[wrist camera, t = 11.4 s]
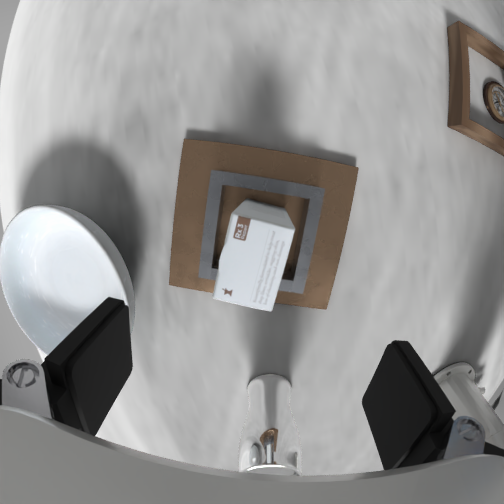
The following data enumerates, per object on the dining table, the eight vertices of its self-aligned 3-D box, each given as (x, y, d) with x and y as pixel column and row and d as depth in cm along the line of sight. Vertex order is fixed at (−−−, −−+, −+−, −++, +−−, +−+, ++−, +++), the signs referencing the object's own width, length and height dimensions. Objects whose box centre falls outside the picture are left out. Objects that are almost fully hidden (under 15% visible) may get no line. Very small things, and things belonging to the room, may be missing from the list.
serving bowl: (51, 337, 37) (28, 360, 30) (18, 207, 31) (-14, 217, 24) (165, 349, 36) (148, 381, 29) (137, 186, 30) (108, 192, 23)
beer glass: (239, 374, 36) (228, 466, 22) (291, 367, 36) (302, 460, 21) (249, 408, 38) (243, 493, 24) (296, 402, 38) (306, 488, 23)
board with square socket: (355, 167, 29) (368, 168, 25) (324, 305, 33) (331, 322, 29) (186, 139, 28) (175, 136, 25) (171, 281, 33) (160, 295, 29)
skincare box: (271, 261, 31) (276, 318, 19) (229, 251, 31) (210, 303, 19) (286, 205, 29) (302, 230, 17) (243, 194, 29) (229, 211, 17)
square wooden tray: (518, 75, 22) (529, 72, 19) (518, 165, 26) (531, 166, 24) (447, 27, 22) (458, 20, 19) (447, 126, 26) (461, 124, 23)
